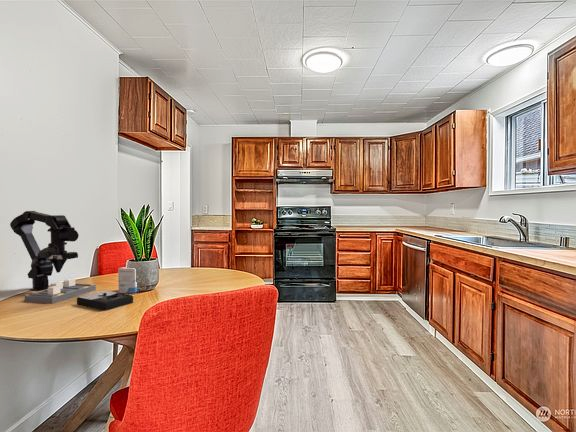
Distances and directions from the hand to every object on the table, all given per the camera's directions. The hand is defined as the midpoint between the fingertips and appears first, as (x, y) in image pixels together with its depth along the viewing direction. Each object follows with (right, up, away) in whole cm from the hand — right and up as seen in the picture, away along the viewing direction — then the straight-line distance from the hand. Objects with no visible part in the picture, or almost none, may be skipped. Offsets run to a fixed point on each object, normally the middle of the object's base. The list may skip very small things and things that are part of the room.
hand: (58, 272), depth 169 cm
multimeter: (+35, -10, -23) cm, 43 cm away
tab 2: (+9, -7, -16) cm, 20 cm away
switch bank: (+8, -9, -9) cm, 15 cm away
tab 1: (+5, -6, -8) cm, 12 cm away
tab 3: (+6, -6, -1) cm, 9 cm away
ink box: (+36, -9, -2) cm, 37 cm away
